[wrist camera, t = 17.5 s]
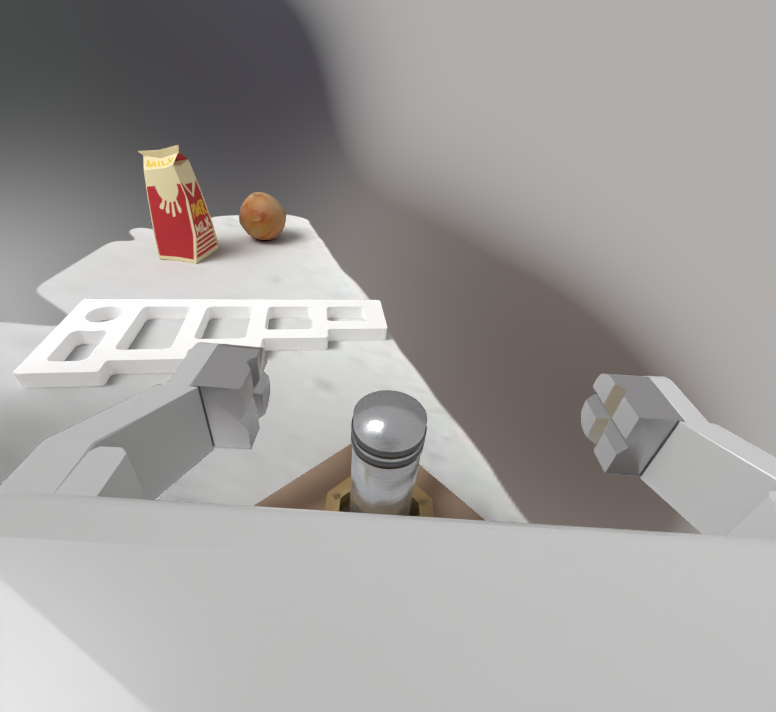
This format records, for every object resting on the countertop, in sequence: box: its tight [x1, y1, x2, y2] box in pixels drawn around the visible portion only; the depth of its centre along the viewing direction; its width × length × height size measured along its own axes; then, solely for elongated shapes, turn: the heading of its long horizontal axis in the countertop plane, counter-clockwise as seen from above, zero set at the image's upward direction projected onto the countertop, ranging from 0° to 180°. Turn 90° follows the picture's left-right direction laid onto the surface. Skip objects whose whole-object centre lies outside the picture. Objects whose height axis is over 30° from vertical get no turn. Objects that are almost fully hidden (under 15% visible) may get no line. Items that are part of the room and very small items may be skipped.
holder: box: [13, 299, 387, 388], centre depth 58 cm, size 45×18×3 cm, turn 98°
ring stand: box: [255, 444, 485, 521], centre depth 35 cm, size 18×16×3 cm
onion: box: [239, 192, 286, 240], centre depth 88 cm, size 10×10×10 cm
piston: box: [350, 390, 427, 516], centre depth 31 cm, size 5×5×14 cm
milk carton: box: [139, 145, 219, 264], centre depth 76 cm, size 9×9×20 cm
